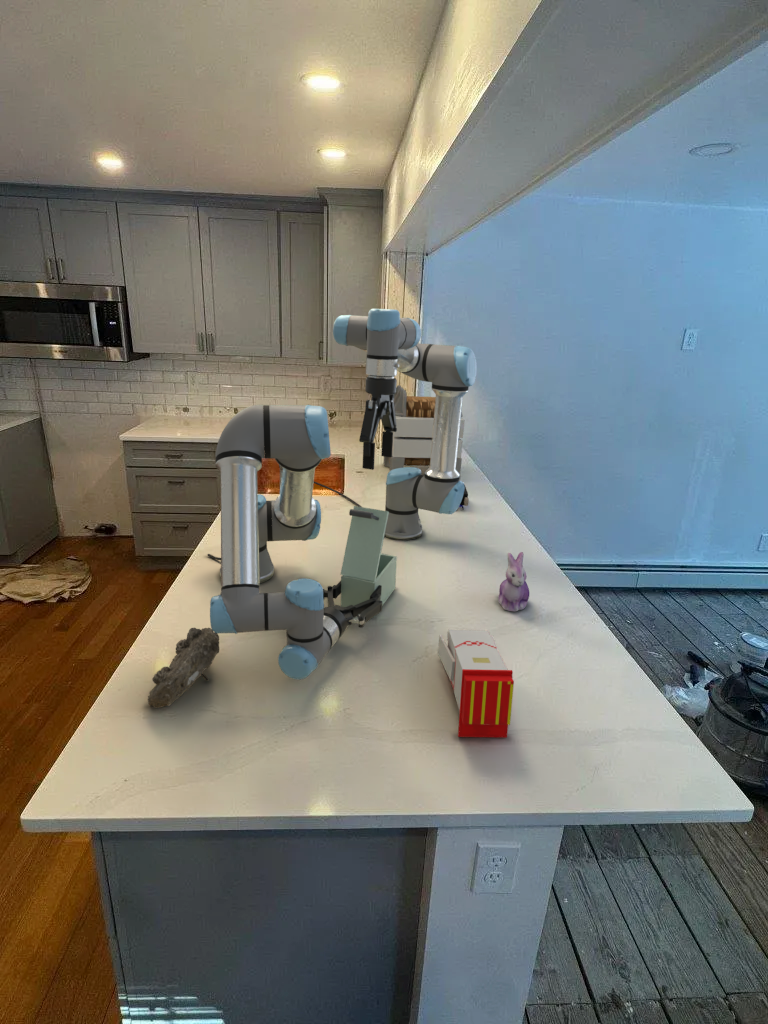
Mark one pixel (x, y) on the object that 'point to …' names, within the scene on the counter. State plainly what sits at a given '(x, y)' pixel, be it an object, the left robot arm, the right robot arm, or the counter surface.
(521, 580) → the figurine
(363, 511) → the lid
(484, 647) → the toy
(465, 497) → the figurine character
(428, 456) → the light grey boxy piece
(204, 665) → the fossil
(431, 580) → the counter surface
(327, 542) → the counter surface
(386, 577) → the chest
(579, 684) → the counter surface
